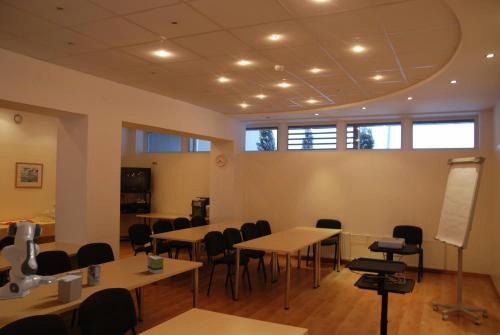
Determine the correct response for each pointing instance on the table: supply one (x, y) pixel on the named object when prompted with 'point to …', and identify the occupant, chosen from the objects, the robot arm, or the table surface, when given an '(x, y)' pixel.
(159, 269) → the tea box
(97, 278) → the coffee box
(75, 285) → the carton
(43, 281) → the robot arm
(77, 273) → the candy bar box
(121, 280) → the table surface
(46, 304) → the table surface
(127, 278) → the table surface
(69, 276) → the flap
